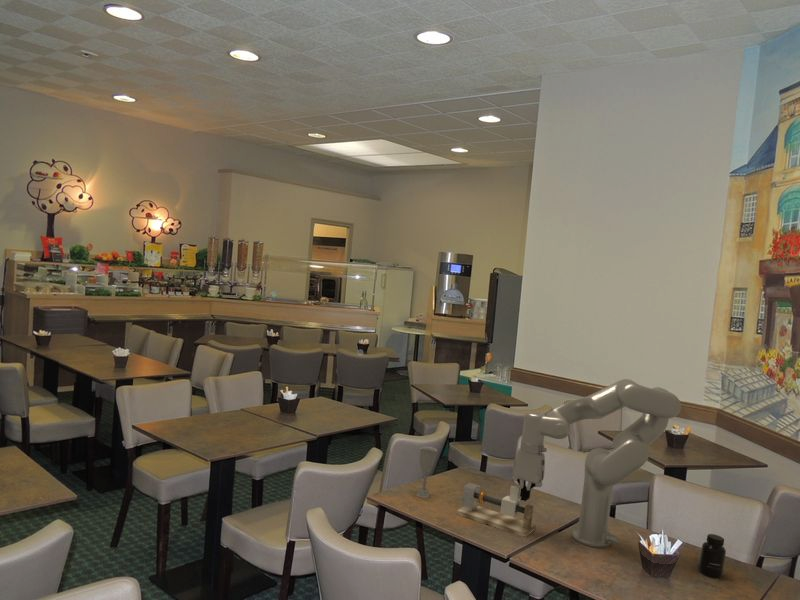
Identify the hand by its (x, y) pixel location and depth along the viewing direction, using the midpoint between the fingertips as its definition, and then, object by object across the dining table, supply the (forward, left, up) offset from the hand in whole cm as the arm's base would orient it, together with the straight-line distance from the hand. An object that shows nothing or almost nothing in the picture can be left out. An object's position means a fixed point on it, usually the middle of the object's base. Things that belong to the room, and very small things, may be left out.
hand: (524, 499), depth 219 cm
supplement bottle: (-58, -15, -11) cm, 61 cm away
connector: (+19, 0, -9) cm, 21 cm away
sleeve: (+5, 0, -6) cm, 8 cm away
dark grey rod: (+10, 0, -5) cm, 11 cm away
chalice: (+41, -2, -11) cm, 42 cm away
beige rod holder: (+10, 0, -11) cm, 14 cm away
